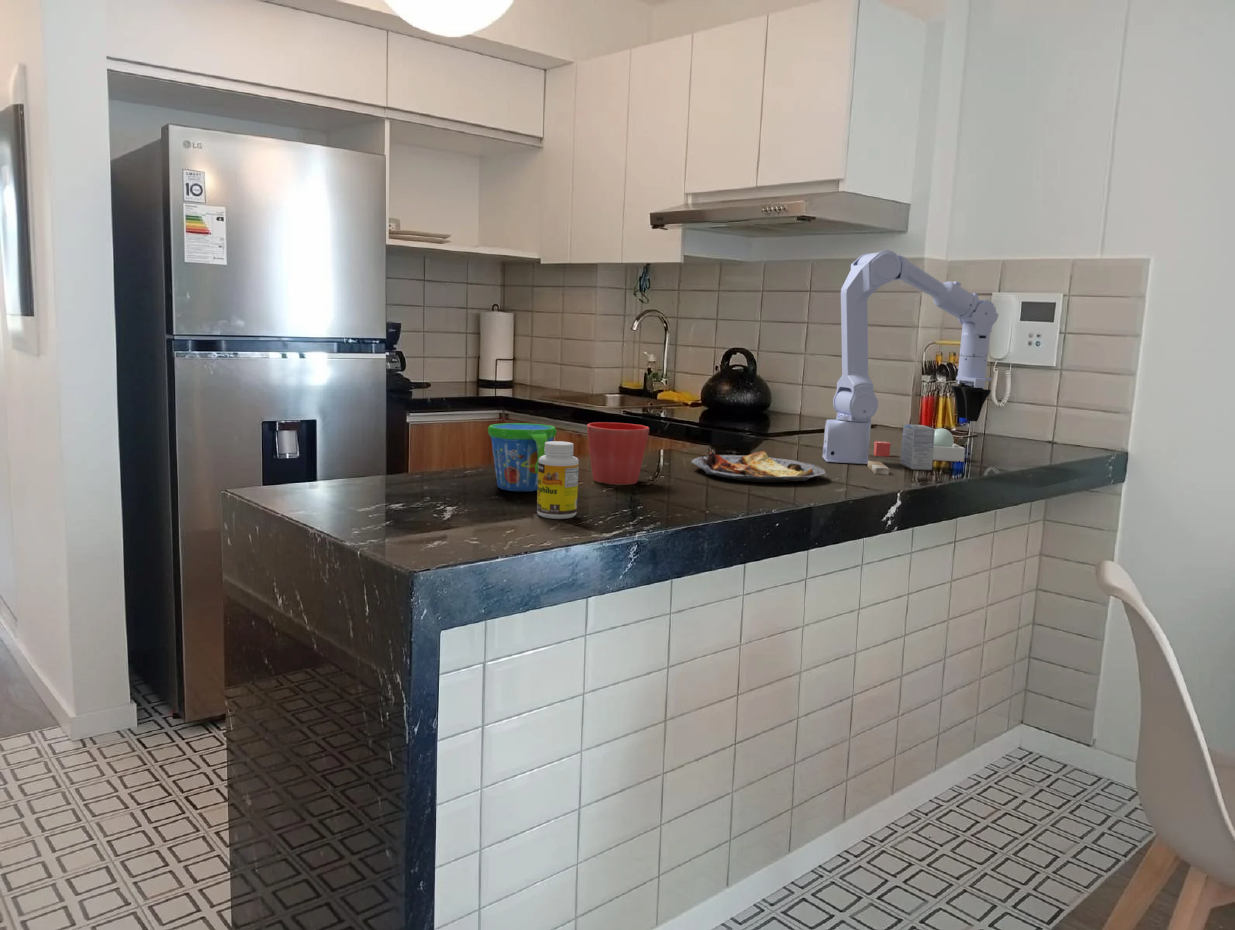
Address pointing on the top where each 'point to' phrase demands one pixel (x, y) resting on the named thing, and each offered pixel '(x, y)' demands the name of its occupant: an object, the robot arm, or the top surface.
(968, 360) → the robot arm
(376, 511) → the top surface
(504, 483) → the snack cup
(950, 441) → the pale green ball
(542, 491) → the supplement bottle
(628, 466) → the flower pot
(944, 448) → the white square frame
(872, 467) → the game track
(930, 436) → the medicine box
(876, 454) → the red die
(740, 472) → the food plate
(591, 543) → the top surface
